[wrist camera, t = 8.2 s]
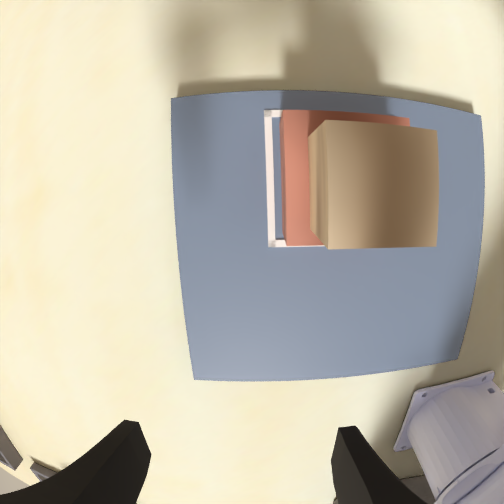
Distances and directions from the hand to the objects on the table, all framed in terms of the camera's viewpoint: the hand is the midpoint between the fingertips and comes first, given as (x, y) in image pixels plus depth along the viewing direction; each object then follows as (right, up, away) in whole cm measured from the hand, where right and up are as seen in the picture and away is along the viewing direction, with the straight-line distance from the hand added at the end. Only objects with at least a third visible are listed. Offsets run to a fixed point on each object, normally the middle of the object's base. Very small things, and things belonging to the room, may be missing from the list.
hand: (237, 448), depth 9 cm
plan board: (+6, +7, +9) cm, 13 cm away
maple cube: (+5, +10, +3) cm, 12 cm away
